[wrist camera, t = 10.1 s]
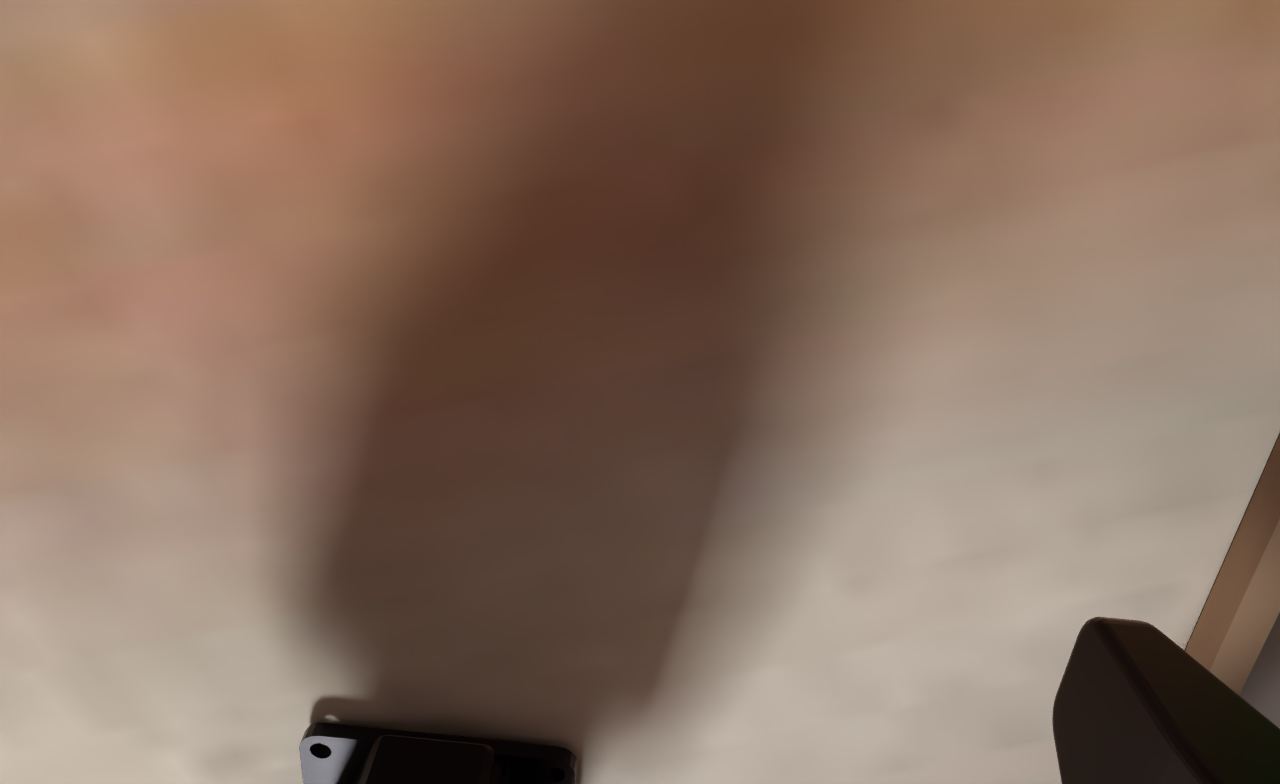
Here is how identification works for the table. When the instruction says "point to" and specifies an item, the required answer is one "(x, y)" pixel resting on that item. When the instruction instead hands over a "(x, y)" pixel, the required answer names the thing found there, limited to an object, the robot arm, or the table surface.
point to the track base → (1248, 604)
